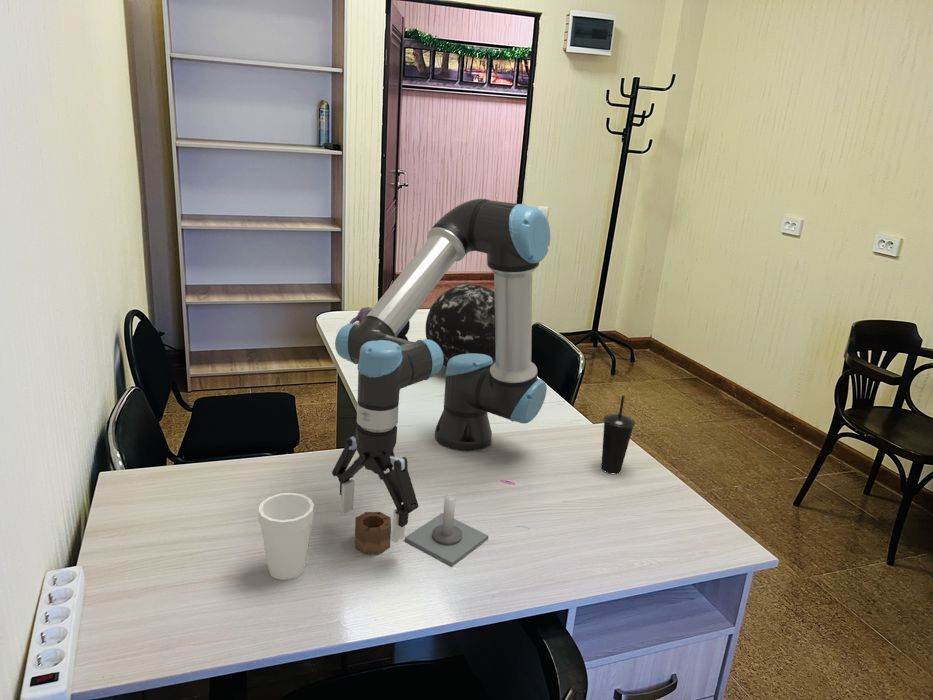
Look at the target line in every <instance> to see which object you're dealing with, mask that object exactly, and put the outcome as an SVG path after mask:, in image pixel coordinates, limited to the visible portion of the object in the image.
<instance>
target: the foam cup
mask: <svg viewBox="0 0 933 700" xmlns="http://www.w3.org/2000/svg"><path fill="white" fill-rule="evenodd" d="M257 513H258V523H259V525H260V530H261V535H262V540H263V546H264V551H265V558H266V563H267V568H268V572H269V574H270V576H271V577H272V578H274V579H276V580H281V581H287V580H294V579H295V578H298V577H300V576H301V575H302V574H303V573H304V572H305V567H306V562H307V556H308V555H307V554H308V549H309V542H310V535H311V529H312V523H313V520H314V517H315V504H314V502H313V500H312V499H311V497H308V496H306V495H304V494H302V493H296V492H295V493H294V492H285V493H284V492H283V493H277V494H274V495H271V496H269V497H266V499H264V500H263V501H261V502H260V504H259V507H258V511H257Z"/></svg>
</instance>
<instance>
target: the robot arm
mask: <svg viewBox="0 0 933 700" xmlns="http://www.w3.org/2000/svg"><path fill="white" fill-rule="evenodd" d="M550 245H551V228H550V223H549V220H548V217H547V216H546V215H545V214H544V213H543V211H542V210H541V209H539V208H537V207H533V206H531V205H530V206H529V205H526V204H523V203H513V202H506V201H505V202H504V201H499V200H492V199H491V200H490V199H486V198H475V199H470V200H468V201H465V202H463V203H461V204H458V205H457V206H455V207H454V208H452V209H451V210H449V211H448V212H447V213H445V214H444V215H443V216H442V217H440V218H439V219H438V220H437V221H436V222H435V223H434V225H433V226H432V227H431V228H430V229H429V231H428V232H427V240H426V242H425V243H424V244H423V246H422V247H421V248H420V249H419V251H417V253H415V256H414V257H413V258H412V259H411V260H410V261H409V263H408V264H407V265H406V266H405V268H404V269H403V270H402V271H401V272H400V274H399V275H398V277H397V278H396V279H395V280H394V281H393V283H392V284H391V285H390V286H389V287H388V289H387V290H386V291H385V292H384V294H383V295H382V296H381V297H380V298H379V299H378V300H377V301H376V303H375V305H374V306H373V307H371V308H372V310H371V311H370V312H369V313H368V314H367V316H366V317H365V318H364V319H363V321H362V322H361V323H359V324H357V323H353V324H350V323H347V324H345V325H343V326H342V327H341V328H340V329H339V330H338V332H337V334H336V336H335V342H334V346H335V347H334V348H335V350H336V353H337V355H338V356H339V357H340V358H341V359H344V360H346V361H347V362H351V364H352V363H353V364H355V365H357V370H358V371H357V372H358V373H357V374H358V375H357V402H356V403H357V405H356V407H357V408H356V423H357V424H356V427H355V435H352V436H350V437H348V438H346V439H345V440H344V446H343V450H342V452H341V453H340V455H339V457H338V460H337V461H336V463H335V466H334V468H332V471H331V473H332V477H337V480H338V481H339V495H340V496H341V499H340V501H341V502H340V514H342V515H345V514H347V513H349V512H351V511H353V510H354V503H355V481H356V480H355V479H353V478H354V477H355V475H356V474H357V473H358V472H359V471H360V470H362V468H364V469H365V470H368V471H371V472H372V473H374V474H375V475H378V477H379V479H380V480H381V481H383V483H384V485H385V487H386V489H387V491H388V493H389V495H390V497H391V499H392V502H393V504H394V506H395V509H394V510H393V516H392V527H391V542H393V543H396V542H398V541H399V540H401V539H403V538H405V534H406V533H405V532H406V531H405V530H406V526H407V525H408V523H409V514H410V513H411V512H414V511H415V510H417V509H418V508H419V503H418V499H417V496H416V492H415V489H414V486H413V482H412V479H411V476H410V472H409V469H408V468H409V467H408V466H409V465H408V462H409V461H408V458H407V457H406V456H403V457H397V456H395V451H394V450H395V447H396V444H397V439H398V438H397V436H398V426H397V425H398V423H399V404H400V403H399V402H400V401H399V400H400V390H401V389H405V388H407V387H409V386H412V385H414V384H418V383H420V382H423V381H428V380H429V379H430V378H431V377H433V376H436V375H438V374H439V373H440V372H441V370H443V369H442V368H443V366H444V365H443V353H442V350H441V348H440V347H439V345H438V344H437V343H435V342H434V341H432V340H429V339H425V338H424V339H417V340H416V341H410V340H409V339H408V340H405V339H401V338H398V337H397V335H398V334H399V333H400V331H401V330H402V329H403V327H404V326H405V325H406V324H407V322H408V321H409V322H410V320H411V318H412V317H413V316H414V315H415V313H416V312H417V311H418V310H419V308H420V307H421V305H423V304H424V302H425V300H426V299H427V298H428V296H429V295H430V294H431V293H432V291H433V290H434V289H435V287H436V286H437V285H438V284H439V283H440V281H441V279H443V277H444V276H445V274H446V273H447V272H448V271H449V270H450V268H451V267H452V265H453V264H454V263H456V262H460V261H462V260H463V259H464V258H465V257H466V255H467V254H468V253H470V252H479V253H484V254H486V261H487V262H486V263H487V264H486V265H487V267H488V268H489V270H490V271H492V272H493V274H494V275H493V276H494V277H493V278H494V279H493V280H494V281H493V283H494V284H493V286H494V292H495V347H496V362H495V363H494V364H493V361H492V358H491V357H490V356H488V355H485V354H474V353H472V354H461V355H457V356H454V357H452V358H451V359H450V360H449V361H448V363H447V367H446V370H445V374H444V375H445V381H444V382H445V383H444V384H445V385H444V396H443V410H442V412H441V415H440V418H439V420H438V422H437V424H436V427H435V429H434V430H435V431H434V438H435V441H436V442H437V444H439V445H441V446H443V447H445V448H447V449H451V450H454V451H460V452H474V451H475V452H476V451H480V450H483V449H486V448H487V447H489V446H490V444H491V443H492V439H493V438H492V436H493V431H492V428H491V424H490V420H489V416H488V413H490V414H492V415H495V416H498V417H500V418H503V419H506V420H509V421H511V422H516V423H519V424H523V425H524V424H529V423H530V422H531V421H533V420H534V419H535V418H536V417H537V415H538V414H539V412H540V411H541V409H542V407H543V405H544V402H545V398H546V396H547V391H548V390H547V388H548V387H547V383H546V382H545V381H544V380H543V379H541V378H539V379H538V367H537V366H536V364H535V363H534V362H532V334H533V333H532V330H533V329H532V327H533V325H532V324H533V323H532V321H533V320H532V319H533V314H532V313H533V307H532V306H533V272H534V271H535V270H536V269H537V268H538V267H539V266H540V263H541V262H542V261H543V260H544V259H545V257H546V256H547V254H548V252H549V246H550ZM356 451H357V453H358V457H357V458H356V459H355V460H354V461H353V463H352V464H351V465H350V463H351V461H352V460H353V458H354V455H355V453H356ZM349 465H350V466H349ZM387 470H388V472H386V471H387Z"/></svg>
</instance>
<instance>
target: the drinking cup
mask: <svg viewBox="0 0 933 700" xmlns="http://www.w3.org/2000/svg"><path fill="white" fill-rule="evenodd" d="M625 397H626V396H625V395H622V396H621V399H620V406H619V410H618V411H619V412H618V413H609V414H606V415H604V416H603V419H602V420H603V422H604V423H603V436H602V451H601V453H602V454H601V470H602V469H603V470H604V471H606V472H608V473H607V474H609V473H616V474H615V475H618V474H620V473H621V472H622V468H623V465H624V461H625V457H626V453H627V450H628V446H629V443H630V440H631V435H632V432H633V429H634V427H635V425H636V422H635V420H634V419H633V418H631V417H630V416H627V415H626V414H623V410H624V404H625ZM603 470H602V471H603ZM604 471H603V472H604ZM620 471H621V472H620ZM606 472H605V473H606ZM619 472H620V473H619ZM617 473H618V474H617Z"/></svg>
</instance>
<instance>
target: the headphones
mask: <svg viewBox="0 0 933 700" xmlns="http://www.w3.org/2000/svg"><path fill="white" fill-rule="evenodd" d="M372 308H373V307H369V306H366V307H361V308H360V310H359V311H358V313H357V315H356V316H355V317H353V318H352V319H351V320H350V321H349V324H356V322H358V323H359V324H360V323H361V322H362V321H363V319H364V318H365V317H366V316H367V314H368V313H369V312H370V311H371V310H372Z"/></svg>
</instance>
